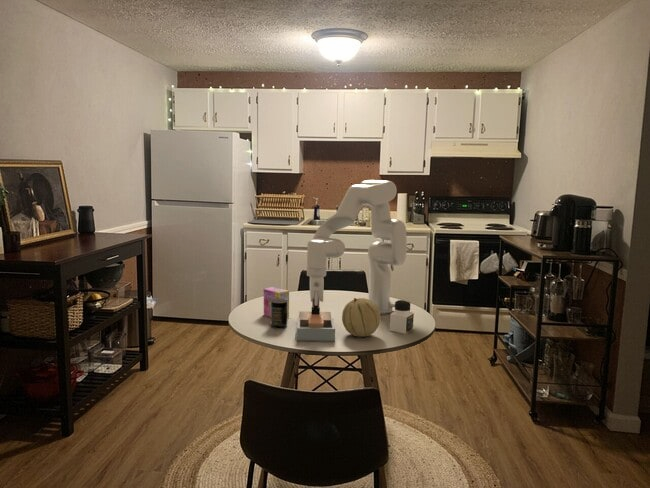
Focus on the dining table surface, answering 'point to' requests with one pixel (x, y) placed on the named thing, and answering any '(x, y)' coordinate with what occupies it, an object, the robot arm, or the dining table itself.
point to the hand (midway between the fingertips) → (315, 317)
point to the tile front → (316, 323)
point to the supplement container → (279, 313)
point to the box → (274, 294)
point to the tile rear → (314, 317)
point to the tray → (315, 333)
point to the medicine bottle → (401, 317)
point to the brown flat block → (304, 315)
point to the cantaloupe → (361, 317)
